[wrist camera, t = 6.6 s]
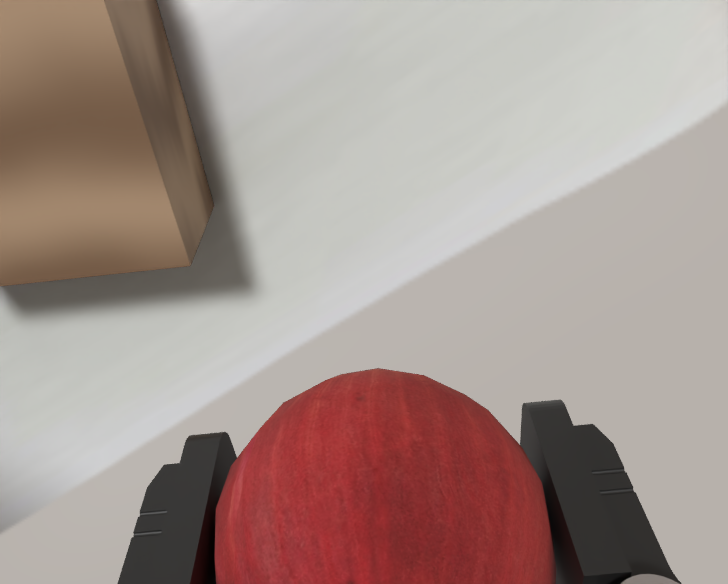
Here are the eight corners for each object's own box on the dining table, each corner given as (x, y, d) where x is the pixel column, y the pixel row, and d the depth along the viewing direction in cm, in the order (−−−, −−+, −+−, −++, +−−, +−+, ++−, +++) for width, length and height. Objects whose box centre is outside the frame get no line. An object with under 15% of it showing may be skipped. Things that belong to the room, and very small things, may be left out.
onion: (247, 469, 15) (175, 923, 9) (240, 278, 12) (118, 781, 6) (476, 477, 16) (570, 916, 9) (531, 294, 12) (738, 779, 6)
